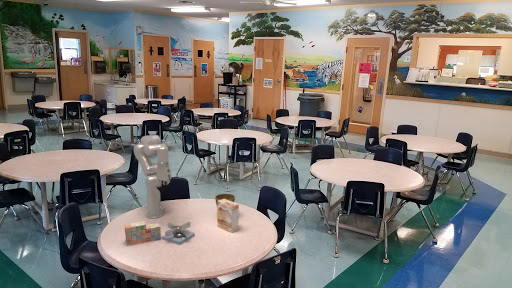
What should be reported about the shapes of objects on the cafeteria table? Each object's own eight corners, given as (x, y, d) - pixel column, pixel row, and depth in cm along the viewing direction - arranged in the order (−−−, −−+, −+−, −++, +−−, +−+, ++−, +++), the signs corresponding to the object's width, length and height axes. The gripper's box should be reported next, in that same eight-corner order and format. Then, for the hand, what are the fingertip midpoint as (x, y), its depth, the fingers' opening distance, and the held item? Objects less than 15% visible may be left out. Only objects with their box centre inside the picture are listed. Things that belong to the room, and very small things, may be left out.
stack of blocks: (159, 235, 247) (158, 218, 245) (161, 239, 242) (160, 222, 239) (125, 241, 238) (124, 223, 235) (126, 245, 233) (125, 227, 230)
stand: (177, 230, 255) (177, 227, 254) (194, 235, 248) (194, 232, 247) (162, 239, 242) (162, 236, 241) (180, 245, 235) (179, 241, 234)
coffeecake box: (216, 226, 263) (216, 200, 258) (224, 223, 268) (224, 198, 264) (231, 233, 253) (231, 206, 248) (238, 230, 258) (239, 203, 254)
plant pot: (238, 215, 282) (238, 195, 279) (227, 222, 270) (227, 201, 267) (223, 211, 290) (223, 192, 287) (211, 217, 278) (211, 197, 274)
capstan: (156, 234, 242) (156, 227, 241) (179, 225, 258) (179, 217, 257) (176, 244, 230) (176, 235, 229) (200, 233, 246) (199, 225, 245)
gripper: (175, 164, 252) (175, 190, 256) (158, 161, 259) (159, 186, 263) (167, 167, 246) (168, 193, 249) (151, 163, 253) (152, 189, 256)
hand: (163, 189), depth 256 cm, fingers closed
